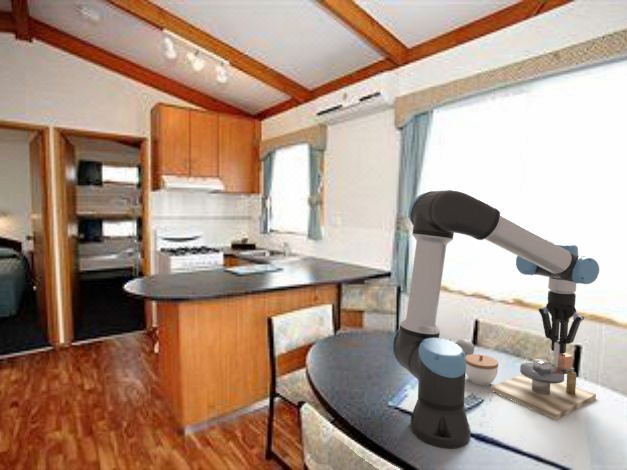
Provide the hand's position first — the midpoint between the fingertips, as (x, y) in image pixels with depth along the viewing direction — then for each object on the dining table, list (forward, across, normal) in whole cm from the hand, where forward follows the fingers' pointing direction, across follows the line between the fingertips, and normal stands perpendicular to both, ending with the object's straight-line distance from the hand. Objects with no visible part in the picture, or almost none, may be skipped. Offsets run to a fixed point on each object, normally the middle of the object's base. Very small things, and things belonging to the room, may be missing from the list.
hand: (557, 361), depth 124 cm
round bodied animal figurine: (+10, +33, +7) cm, 36 cm away
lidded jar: (+10, +16, +17) cm, 26 cm away
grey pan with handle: (+3, 0, +6) cm, 7 cm away
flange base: (+9, 0, +9) cm, 13 cm away
